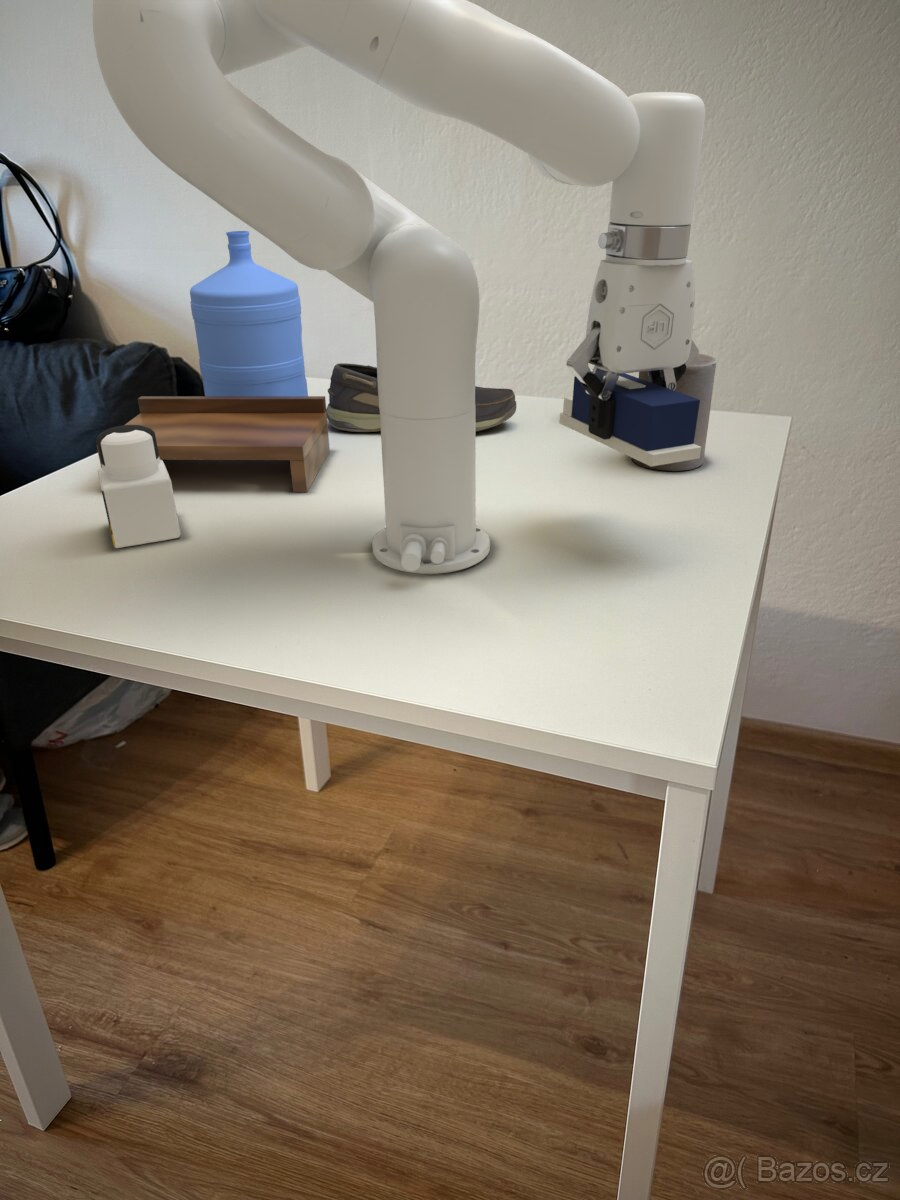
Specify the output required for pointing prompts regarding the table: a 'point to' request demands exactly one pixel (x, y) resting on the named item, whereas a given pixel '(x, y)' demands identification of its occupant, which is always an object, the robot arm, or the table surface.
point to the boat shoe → (360, 403)
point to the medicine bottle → (136, 487)
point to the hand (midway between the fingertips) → (626, 430)
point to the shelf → (240, 430)
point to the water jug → (248, 328)
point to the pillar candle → (700, 387)
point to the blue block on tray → (641, 420)
